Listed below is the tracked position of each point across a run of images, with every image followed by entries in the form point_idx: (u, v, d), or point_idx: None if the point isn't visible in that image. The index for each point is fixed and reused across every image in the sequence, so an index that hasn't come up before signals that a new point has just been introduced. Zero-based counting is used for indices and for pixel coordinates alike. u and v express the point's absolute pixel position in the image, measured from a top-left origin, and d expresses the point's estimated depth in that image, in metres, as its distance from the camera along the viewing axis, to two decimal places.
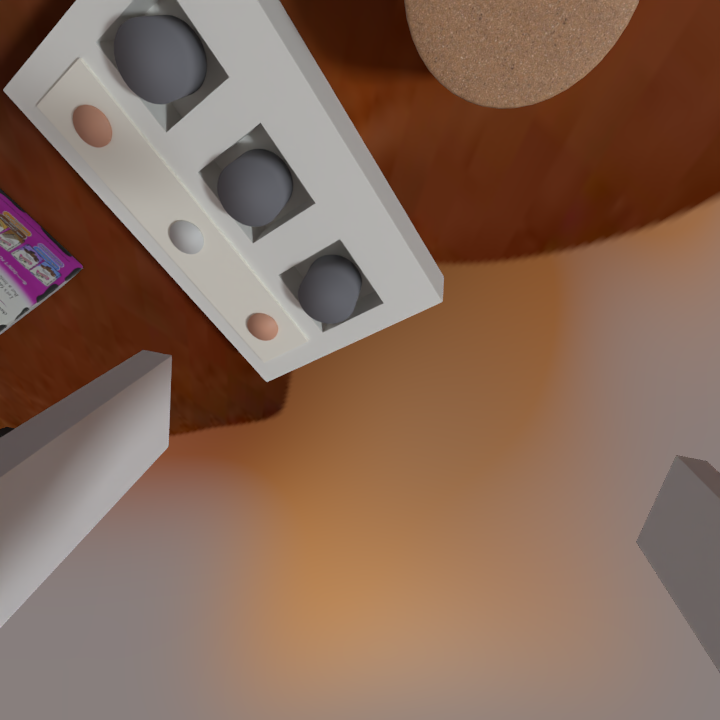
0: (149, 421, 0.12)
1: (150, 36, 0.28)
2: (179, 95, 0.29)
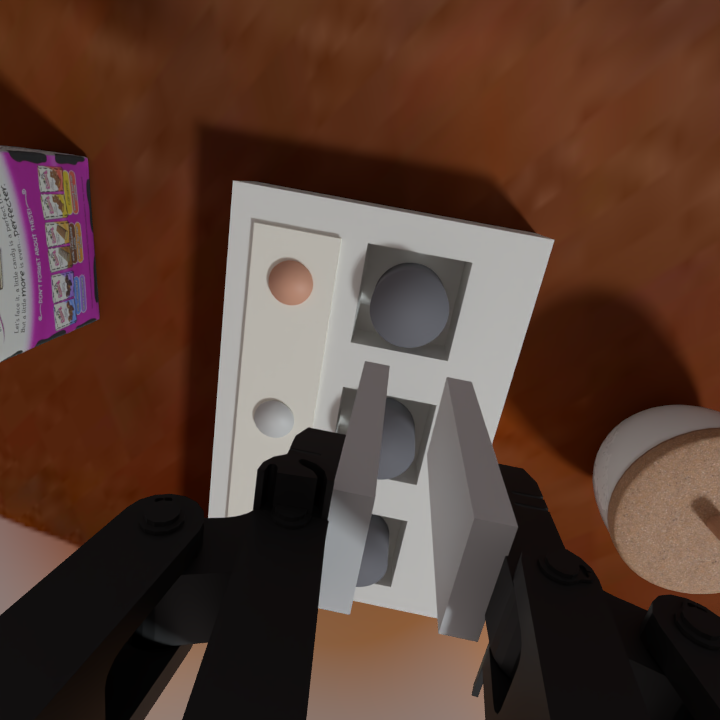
0: None
1: (430, 298, 0.27)
2: (404, 346, 0.28)
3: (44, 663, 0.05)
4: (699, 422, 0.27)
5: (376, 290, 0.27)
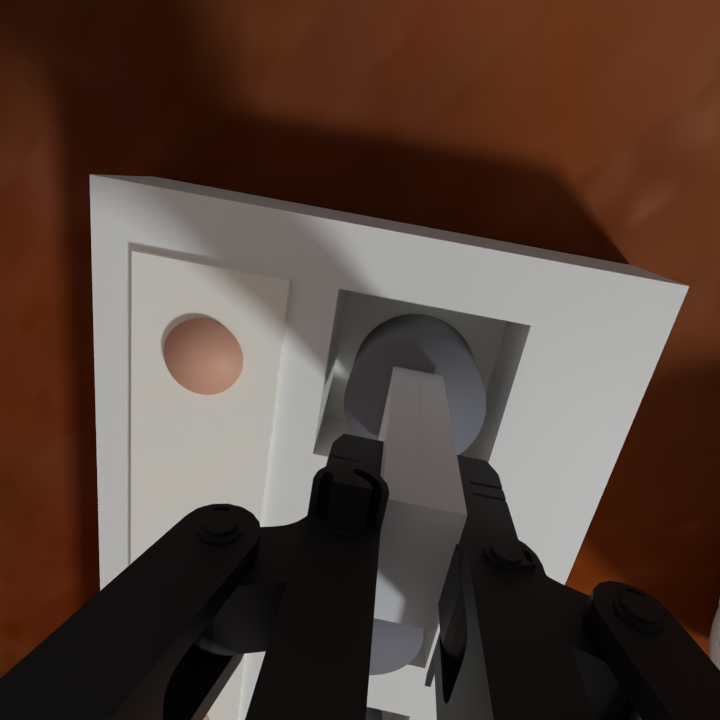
0: None
1: (453, 388, 0.15)
2: None
3: (109, 672, 0.05)
4: None
5: (355, 372, 0.15)
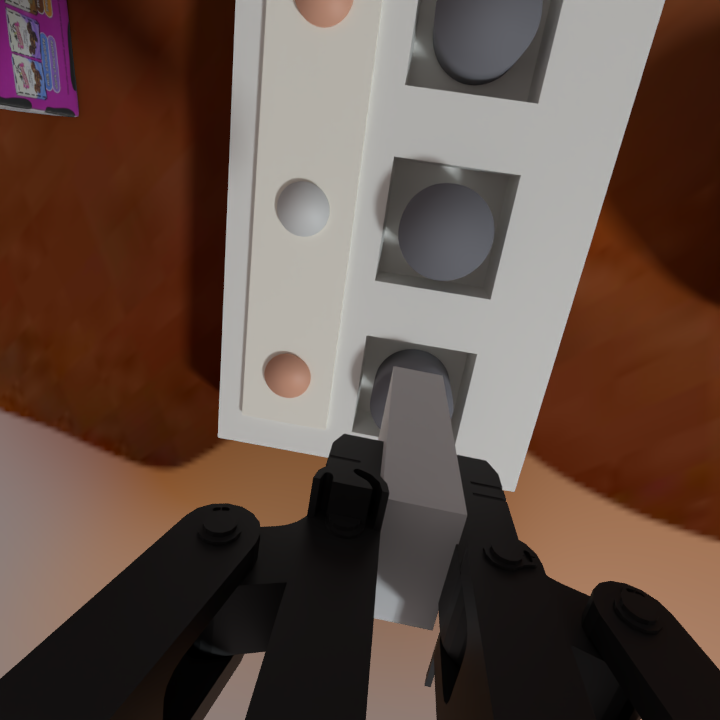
0: None
1: None
2: (480, 72, 0.21)
3: (109, 671, 0.05)
4: None
5: None
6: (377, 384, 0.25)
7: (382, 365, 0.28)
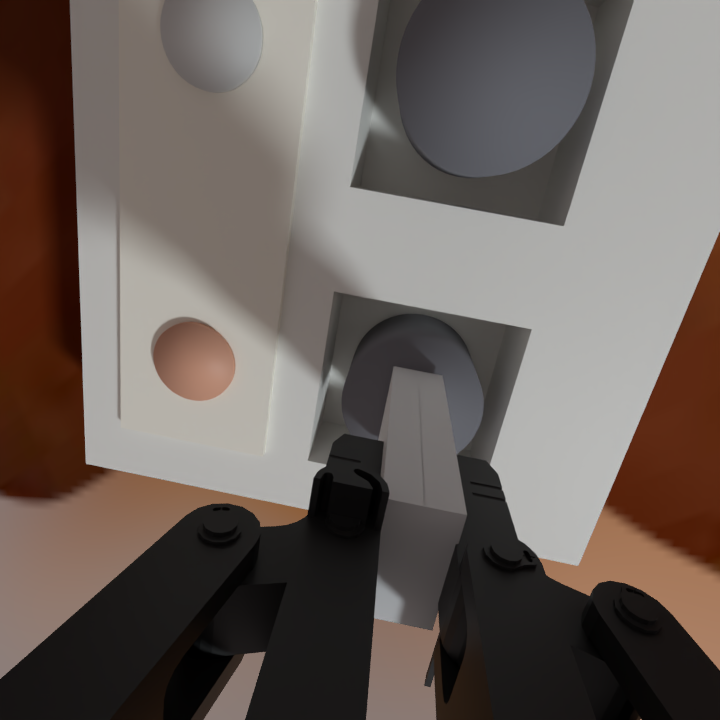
0: None
1: None
2: None
3: (109, 671, 0.05)
4: None
5: None
6: (354, 367, 0.15)
7: (364, 338, 0.17)
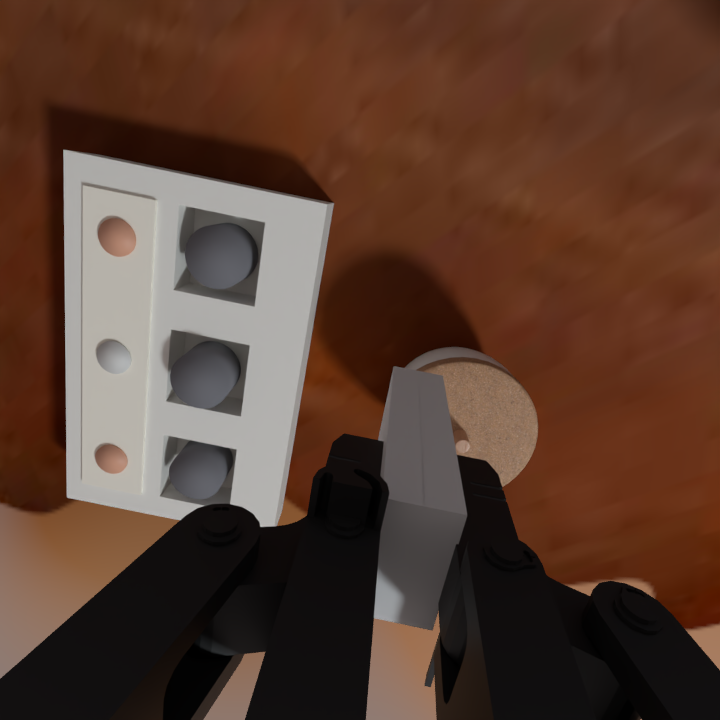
0: None
1: (231, 248, 0.33)
2: (216, 288, 0.35)
3: (109, 671, 0.05)
4: (448, 355, 0.33)
5: (188, 241, 0.33)
6: (172, 462, 0.39)
7: (185, 446, 0.41)
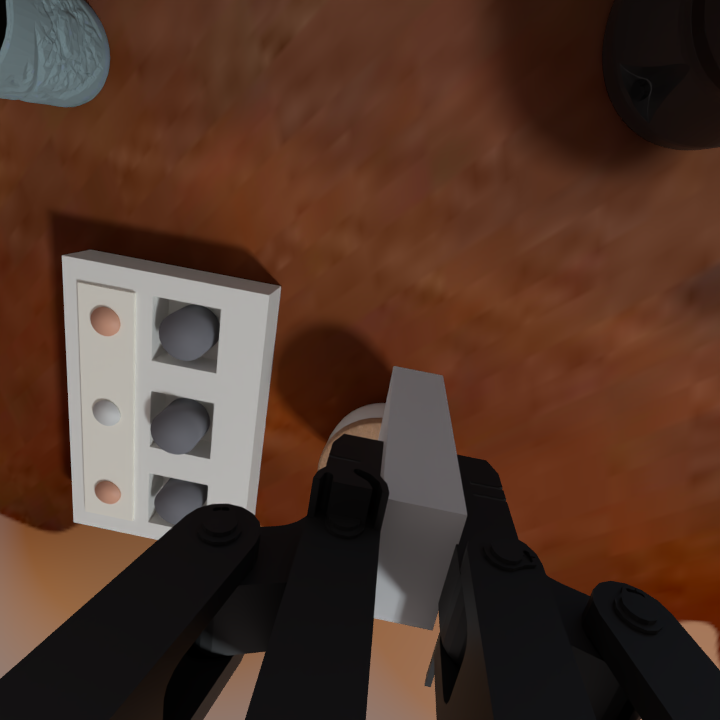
0: None
1: (195, 329, 0.42)
2: (185, 360, 0.43)
3: (109, 672, 0.05)
4: (370, 414, 0.41)
5: (161, 324, 0.42)
6: (156, 495, 0.48)
7: (168, 480, 0.50)
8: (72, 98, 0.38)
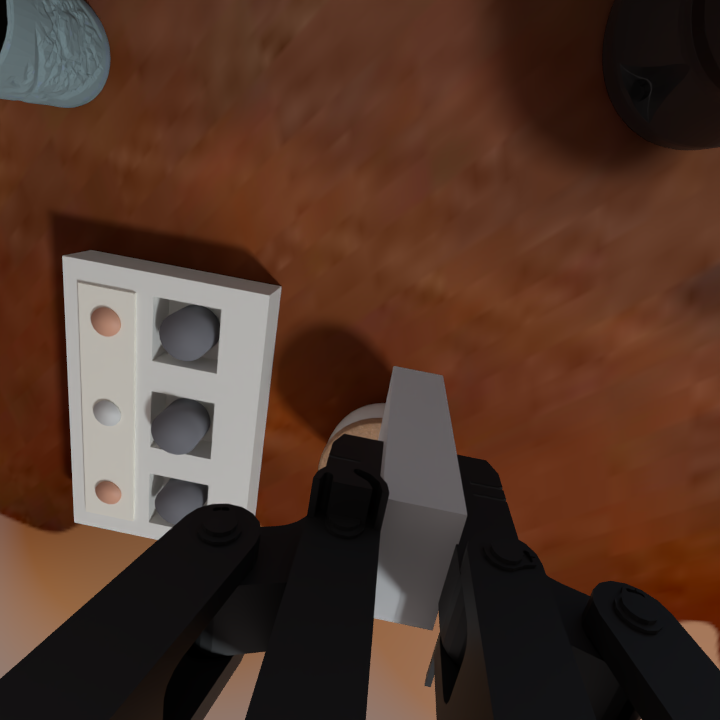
0: None
1: (195, 330, 0.42)
2: (185, 360, 0.43)
3: (109, 672, 0.05)
4: (370, 415, 0.41)
5: (161, 324, 0.42)
6: (157, 495, 0.48)
7: (169, 480, 0.50)
8: (72, 99, 0.38)
